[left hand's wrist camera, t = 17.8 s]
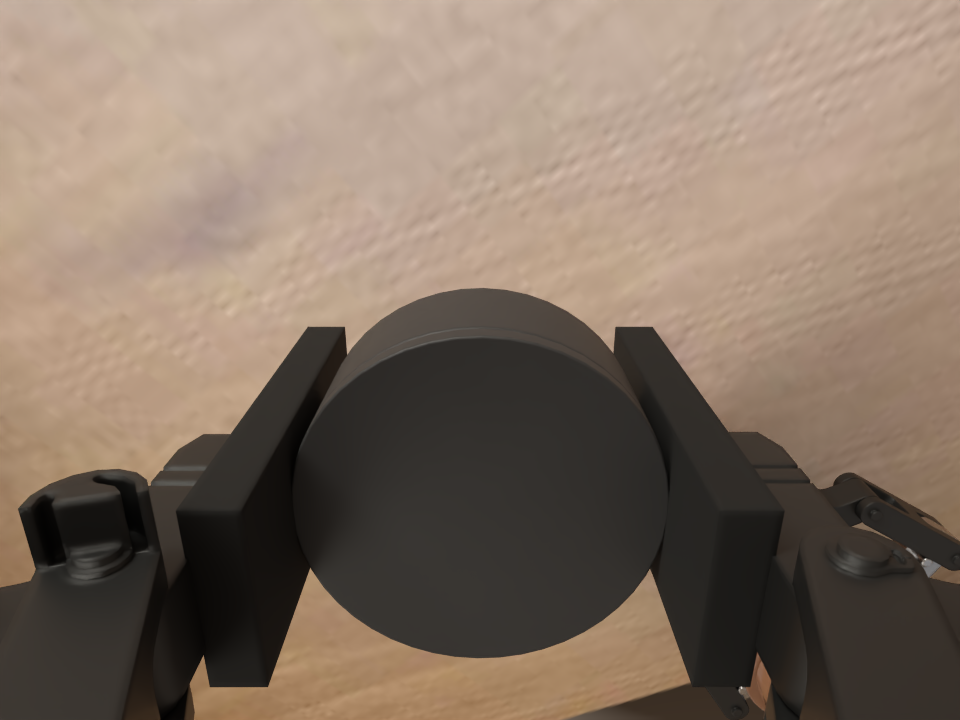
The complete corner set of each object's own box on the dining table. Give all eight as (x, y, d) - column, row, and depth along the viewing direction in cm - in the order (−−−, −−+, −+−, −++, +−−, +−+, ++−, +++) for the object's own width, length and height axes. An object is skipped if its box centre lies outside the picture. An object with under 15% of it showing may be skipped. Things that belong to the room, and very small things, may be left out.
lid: (315, 544, 13) (282, 637, 11) (336, 264, 11) (299, 308, 9) (600, 579, 13) (623, 677, 11) (670, 312, 11) (716, 366, 9)
